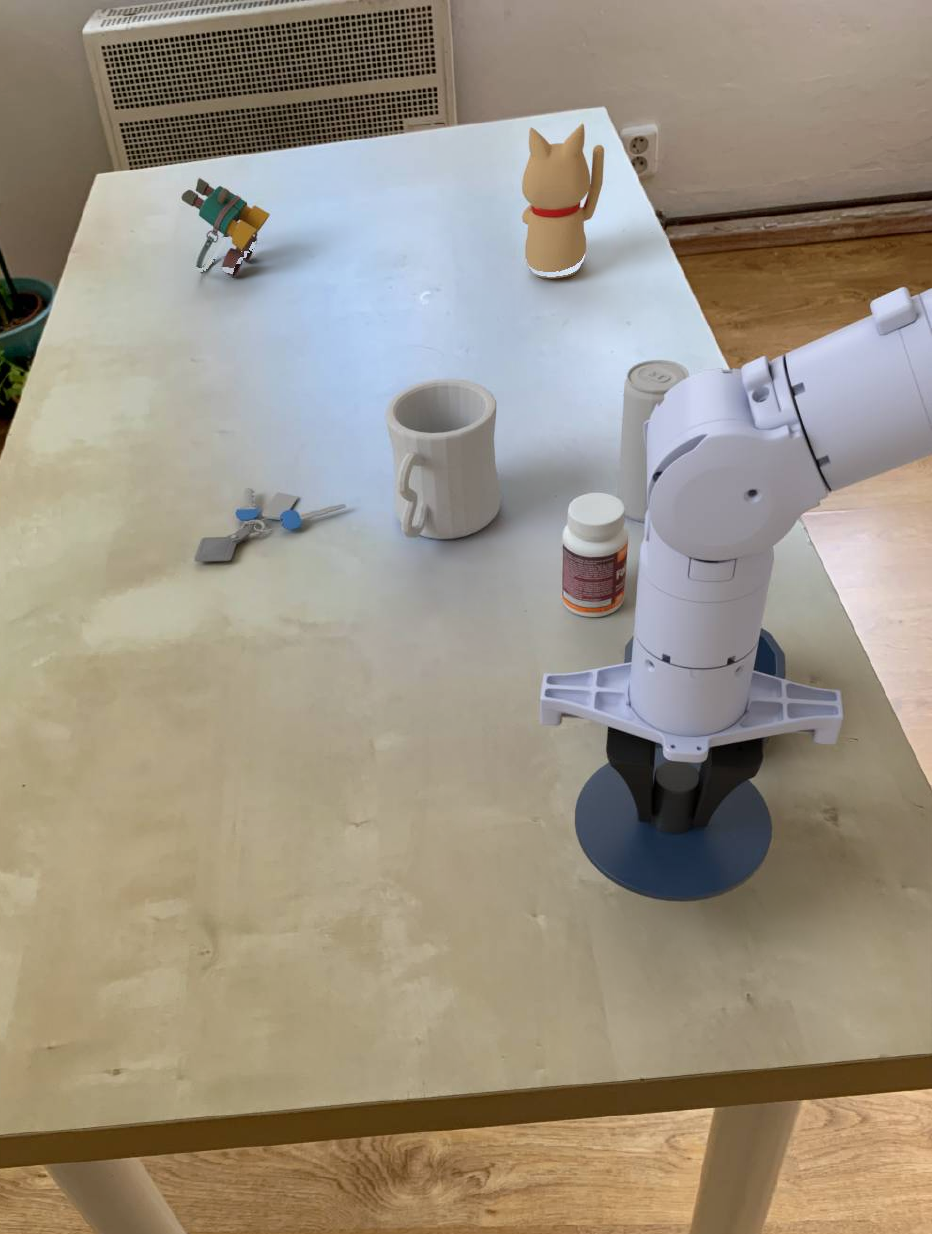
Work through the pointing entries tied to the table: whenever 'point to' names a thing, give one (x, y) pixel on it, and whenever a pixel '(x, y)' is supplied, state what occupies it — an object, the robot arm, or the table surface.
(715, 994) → the table surface
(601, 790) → the lid
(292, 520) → the key chain
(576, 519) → the pill bottle
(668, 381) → the beverage can
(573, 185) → the figurine
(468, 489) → the mug
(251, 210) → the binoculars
